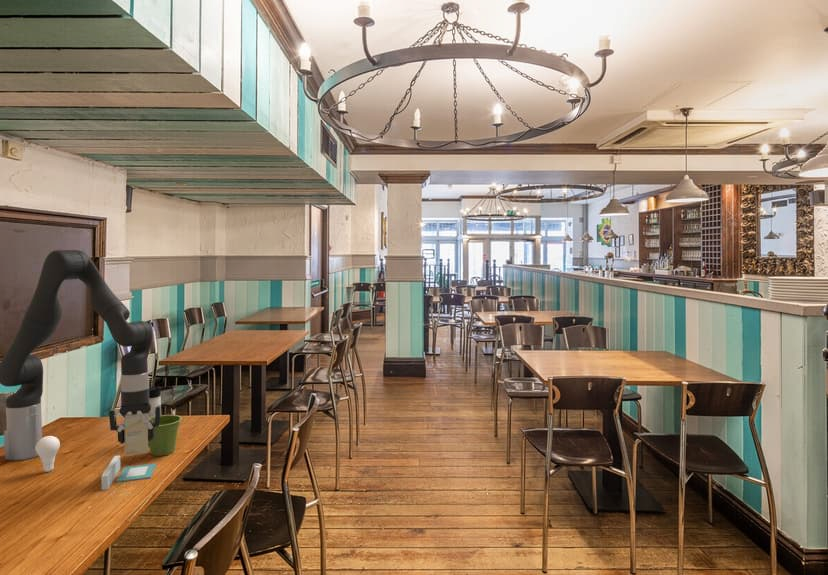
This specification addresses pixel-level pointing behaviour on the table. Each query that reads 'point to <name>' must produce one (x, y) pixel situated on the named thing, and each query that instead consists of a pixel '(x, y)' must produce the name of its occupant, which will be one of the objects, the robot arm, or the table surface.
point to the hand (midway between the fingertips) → (136, 441)
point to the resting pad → (137, 472)
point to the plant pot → (164, 435)
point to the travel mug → (154, 399)
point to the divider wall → (110, 472)
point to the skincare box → (135, 435)
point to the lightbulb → (47, 451)
